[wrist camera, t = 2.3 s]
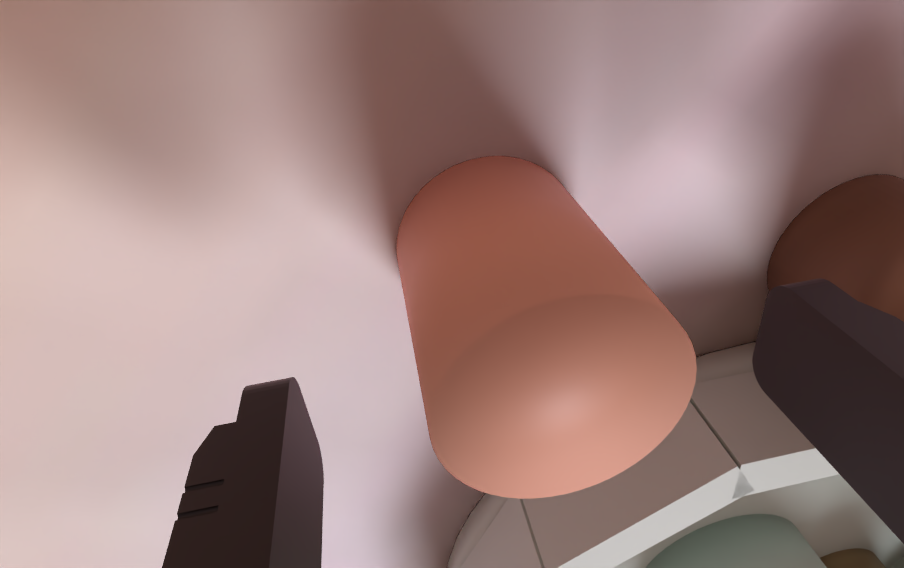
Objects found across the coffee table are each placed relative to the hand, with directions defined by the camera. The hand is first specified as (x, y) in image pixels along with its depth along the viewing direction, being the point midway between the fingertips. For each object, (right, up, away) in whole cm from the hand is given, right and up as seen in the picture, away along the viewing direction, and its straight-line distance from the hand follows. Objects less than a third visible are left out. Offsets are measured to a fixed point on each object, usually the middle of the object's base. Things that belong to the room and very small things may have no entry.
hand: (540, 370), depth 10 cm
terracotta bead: (-1, +2, +3) cm, 4 cm away
